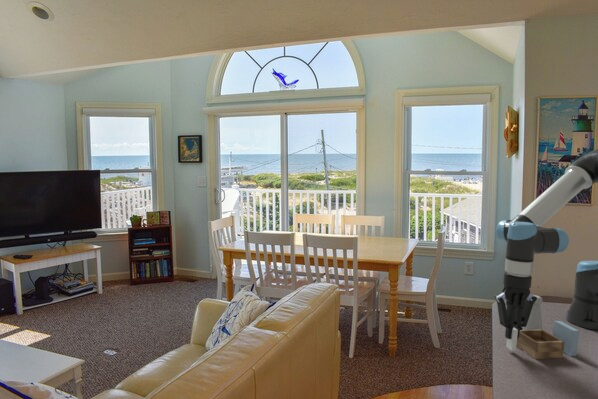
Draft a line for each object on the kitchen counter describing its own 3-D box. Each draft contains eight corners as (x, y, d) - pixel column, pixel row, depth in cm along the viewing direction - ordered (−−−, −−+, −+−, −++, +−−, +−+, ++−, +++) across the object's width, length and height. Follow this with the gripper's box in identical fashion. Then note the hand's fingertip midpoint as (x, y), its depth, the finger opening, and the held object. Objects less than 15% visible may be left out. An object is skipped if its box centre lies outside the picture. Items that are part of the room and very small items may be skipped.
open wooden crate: (540, 344, 147) (542, 329, 146) (562, 357, 137) (564, 341, 137) (514, 345, 145) (515, 330, 145) (534, 358, 136) (536, 342, 135)
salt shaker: (543, 337, 153) (547, 299, 151) (525, 335, 154) (529, 297, 152) (538, 330, 158) (542, 294, 157) (520, 328, 159) (524, 292, 158)
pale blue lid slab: (557, 344, 147) (559, 320, 146) (576, 355, 139) (579, 330, 138) (551, 344, 147) (554, 320, 146) (570, 356, 139) (573, 330, 138)
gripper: (529, 269, 142) (522, 342, 144) (491, 270, 139) (484, 344, 142) (546, 276, 134) (538, 353, 137) (506, 277, 132) (499, 354, 135)
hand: (510, 348), depth 140 cm, fingers closed
